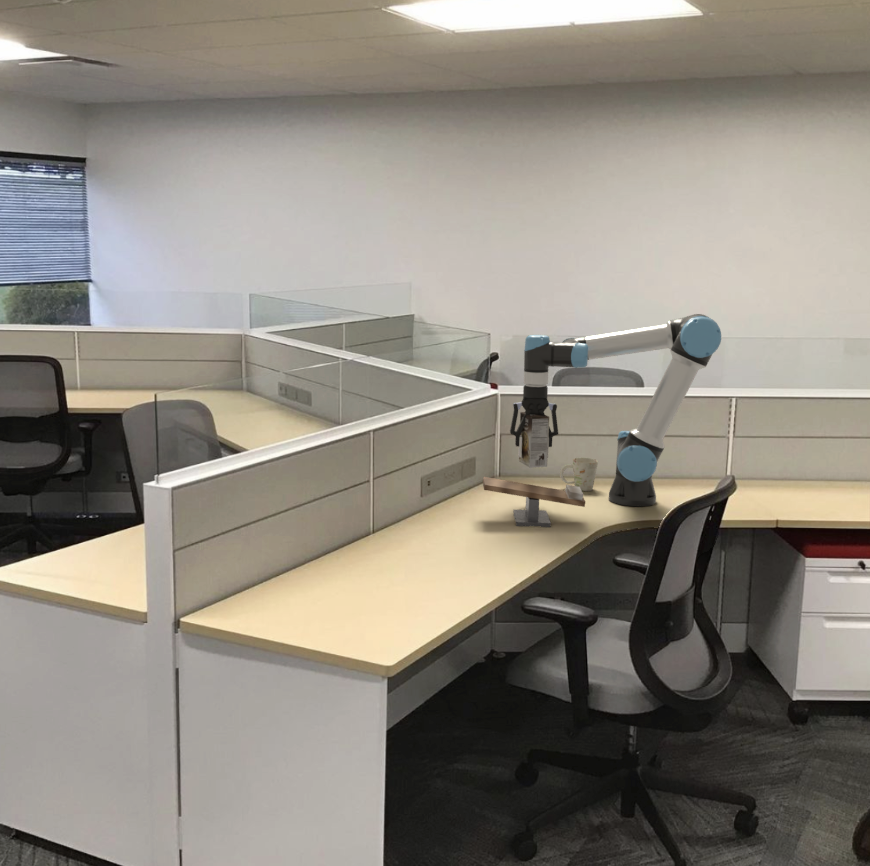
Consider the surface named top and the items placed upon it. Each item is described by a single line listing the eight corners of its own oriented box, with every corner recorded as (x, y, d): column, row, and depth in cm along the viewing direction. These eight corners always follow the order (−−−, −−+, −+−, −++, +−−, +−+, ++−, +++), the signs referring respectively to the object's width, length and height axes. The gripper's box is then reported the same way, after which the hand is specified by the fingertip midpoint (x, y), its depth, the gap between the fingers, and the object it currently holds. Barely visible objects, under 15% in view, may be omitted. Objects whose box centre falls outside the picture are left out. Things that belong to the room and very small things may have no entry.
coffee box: (518, 461, 320) (519, 411, 317) (536, 460, 322) (538, 411, 319) (528, 467, 312) (530, 416, 308) (548, 466, 313) (550, 415, 310)
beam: (580, 498, 304) (582, 486, 304) (584, 506, 294) (586, 495, 294) (482, 481, 304) (484, 470, 303) (483, 489, 294) (486, 478, 293)
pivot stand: (545, 514, 307) (547, 490, 306) (550, 527, 294) (551, 502, 292) (513, 513, 307) (514, 489, 306) (516, 526, 294) (517, 500, 292)
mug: (597, 492, 337) (599, 463, 335) (560, 491, 337) (561, 462, 335) (594, 486, 345) (596, 458, 343) (557, 485, 345) (559, 456, 343)
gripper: (567, 383, 316) (564, 454, 320) (502, 382, 316) (500, 453, 320) (570, 387, 308) (567, 459, 313) (503, 386, 308) (501, 458, 313)
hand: (533, 456), depth 316 cm, fingers closed on coffee box, 8 cm apart
